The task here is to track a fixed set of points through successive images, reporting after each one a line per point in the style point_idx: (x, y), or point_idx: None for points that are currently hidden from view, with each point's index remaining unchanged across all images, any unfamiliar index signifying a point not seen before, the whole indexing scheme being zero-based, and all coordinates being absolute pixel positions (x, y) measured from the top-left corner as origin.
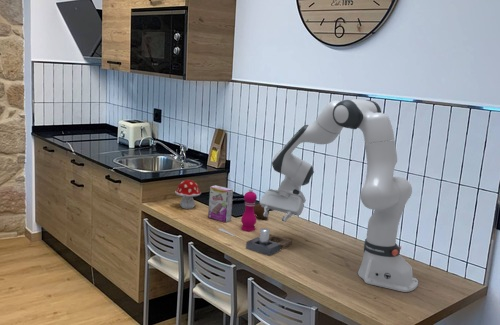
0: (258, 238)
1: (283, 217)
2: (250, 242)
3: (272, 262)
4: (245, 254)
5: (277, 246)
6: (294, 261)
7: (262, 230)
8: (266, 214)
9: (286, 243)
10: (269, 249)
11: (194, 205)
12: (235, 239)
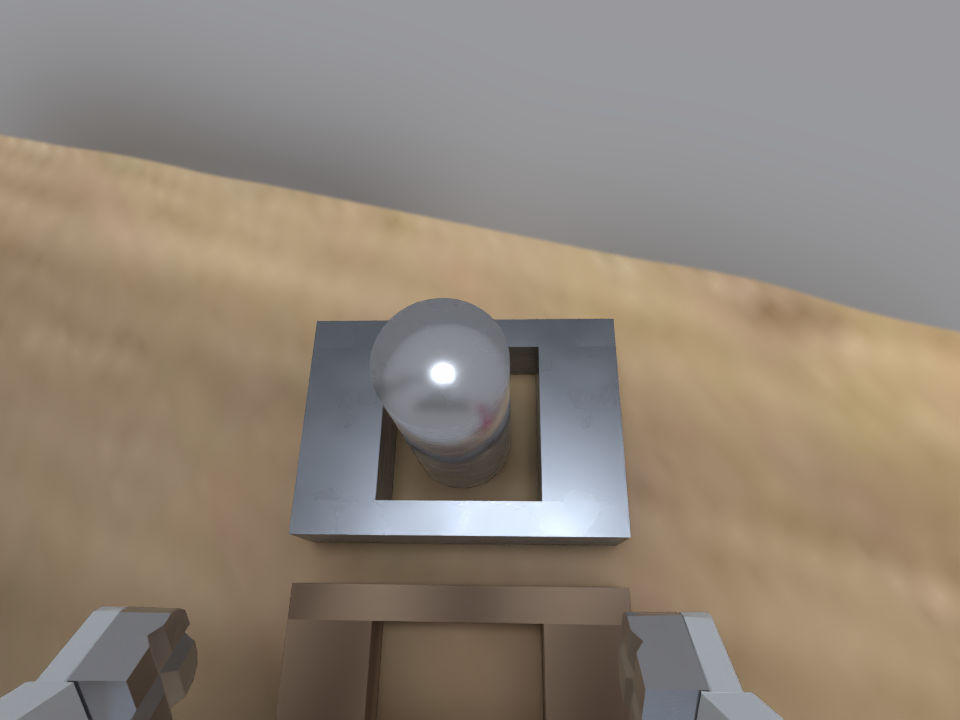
0: (589, 503)
1: (121, 646)
2: (569, 330)
3: (254, 255)
4: (515, 240)
5: (302, 467)
6: (98, 396)
7: (444, 305)
8: (628, 634)
9: (280, 693)
10: (326, 324)
11: None
12: (862, 483)
